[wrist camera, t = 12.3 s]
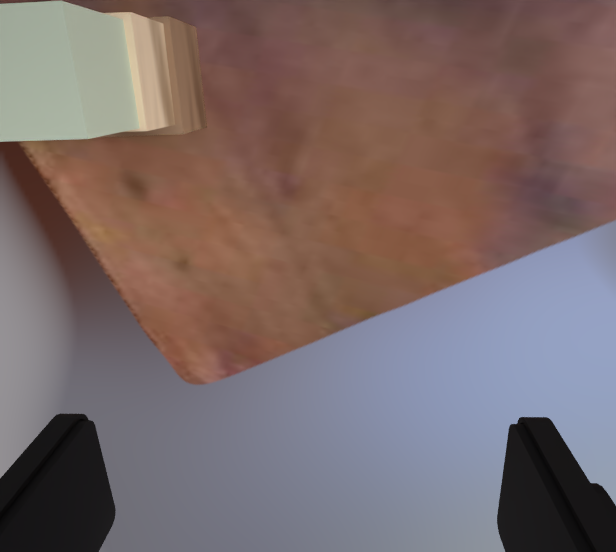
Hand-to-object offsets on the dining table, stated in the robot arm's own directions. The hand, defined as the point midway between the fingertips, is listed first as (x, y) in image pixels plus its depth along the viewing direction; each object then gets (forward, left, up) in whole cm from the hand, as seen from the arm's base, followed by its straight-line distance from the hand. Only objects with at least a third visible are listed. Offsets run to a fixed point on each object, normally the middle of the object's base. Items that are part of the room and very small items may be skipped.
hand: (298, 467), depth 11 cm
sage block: (+13, -9, -19) cm, 25 cm away
